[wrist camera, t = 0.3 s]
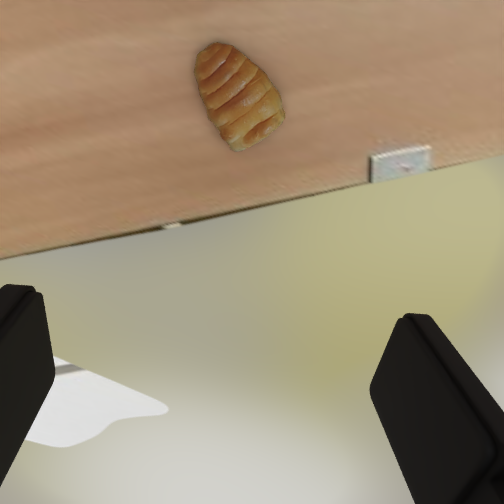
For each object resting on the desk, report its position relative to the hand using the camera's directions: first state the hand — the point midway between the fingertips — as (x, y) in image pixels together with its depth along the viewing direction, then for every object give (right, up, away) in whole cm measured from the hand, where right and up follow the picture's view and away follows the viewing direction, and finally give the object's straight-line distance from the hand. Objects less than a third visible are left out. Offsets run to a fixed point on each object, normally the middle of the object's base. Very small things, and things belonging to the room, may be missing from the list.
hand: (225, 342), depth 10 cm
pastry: (-1, +17, +26) cm, 31 cm away
